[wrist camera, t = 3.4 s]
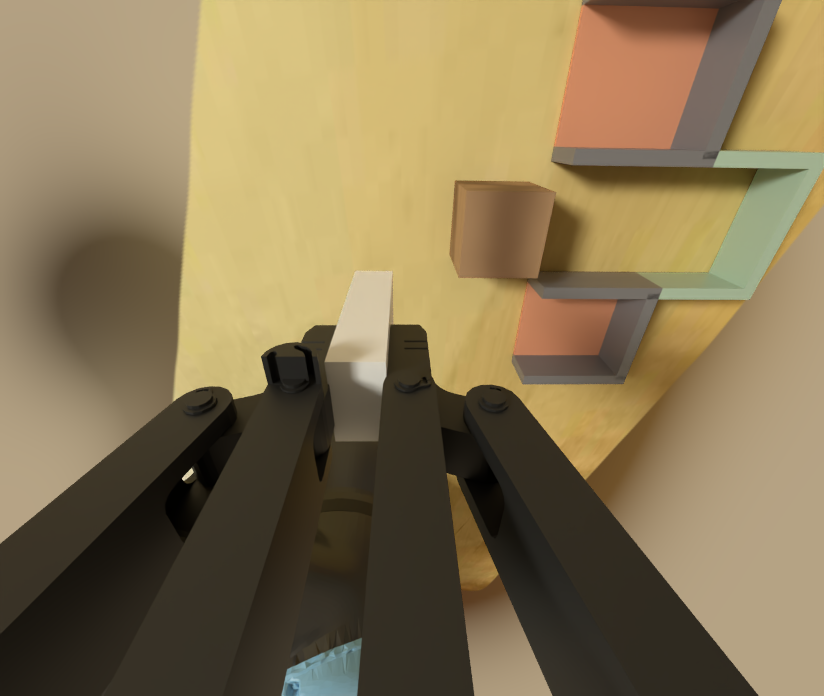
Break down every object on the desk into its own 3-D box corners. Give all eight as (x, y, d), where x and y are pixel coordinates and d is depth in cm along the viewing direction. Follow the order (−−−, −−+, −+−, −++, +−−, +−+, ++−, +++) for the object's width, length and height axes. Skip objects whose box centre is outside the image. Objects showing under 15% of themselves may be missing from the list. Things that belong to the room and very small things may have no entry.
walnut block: (449, 254, 31) (458, 277, 26) (454, 180, 28) (466, 191, 23) (515, 254, 32) (537, 278, 27) (528, 181, 29) (556, 192, 23)
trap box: (511, 361, 38) (522, 384, 34) (586, -16, 22) (618, -42, 19) (675, 361, 38) (702, 383, 35) (856, -7, 23) (935, -32, 20)
